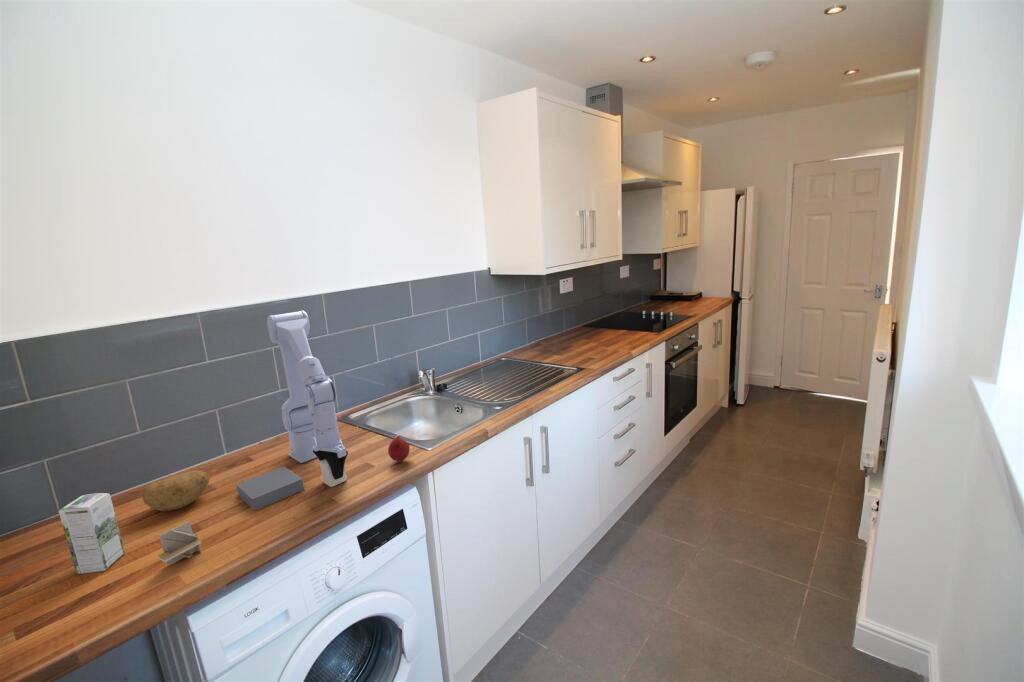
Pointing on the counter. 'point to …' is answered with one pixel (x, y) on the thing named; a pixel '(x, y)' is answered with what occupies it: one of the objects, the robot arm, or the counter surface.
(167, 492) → the potato
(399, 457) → the onion
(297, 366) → the robot arm
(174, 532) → the architectural model
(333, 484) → the cream block
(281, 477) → the riser block
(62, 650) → the counter surface
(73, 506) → the syrup box
